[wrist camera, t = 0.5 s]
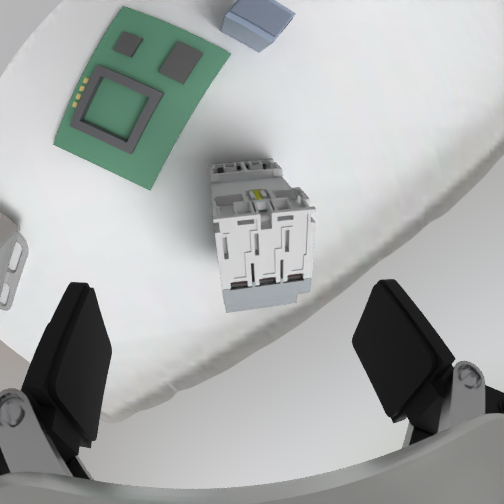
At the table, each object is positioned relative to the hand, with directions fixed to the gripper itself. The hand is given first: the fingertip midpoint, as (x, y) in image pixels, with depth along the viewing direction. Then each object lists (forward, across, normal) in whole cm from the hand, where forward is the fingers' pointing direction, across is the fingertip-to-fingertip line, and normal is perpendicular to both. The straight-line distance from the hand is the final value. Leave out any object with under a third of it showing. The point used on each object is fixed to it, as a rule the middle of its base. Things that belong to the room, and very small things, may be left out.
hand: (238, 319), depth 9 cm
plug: (+27, -3, -15) cm, 31 cm away
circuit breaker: (+27, -4, +8) cm, 29 cm away
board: (+27, +9, -7) cm, 29 cm away
